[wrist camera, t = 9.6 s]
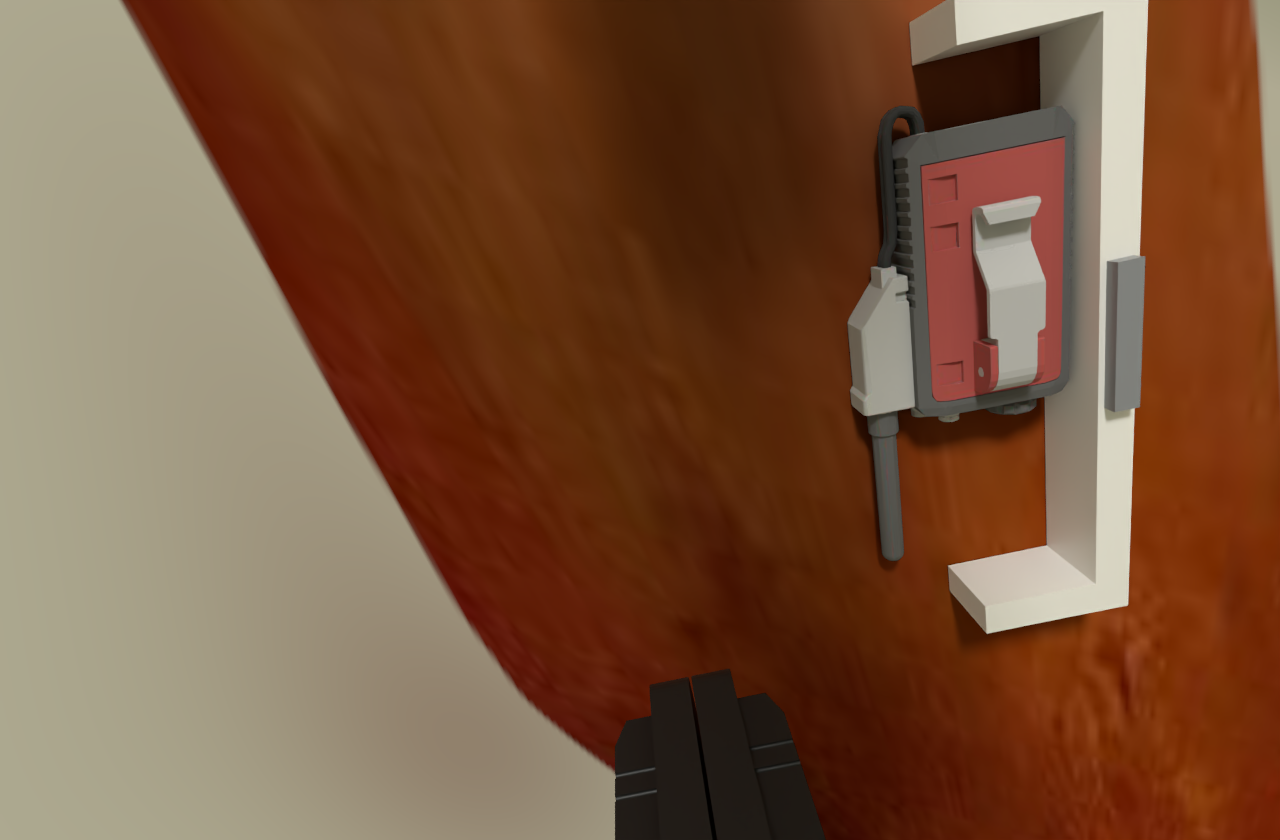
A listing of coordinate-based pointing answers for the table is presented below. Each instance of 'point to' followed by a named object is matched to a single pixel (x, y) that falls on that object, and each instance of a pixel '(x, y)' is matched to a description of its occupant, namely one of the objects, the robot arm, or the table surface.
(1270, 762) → the table surface
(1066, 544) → the white c-shaped bracket
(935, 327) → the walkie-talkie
